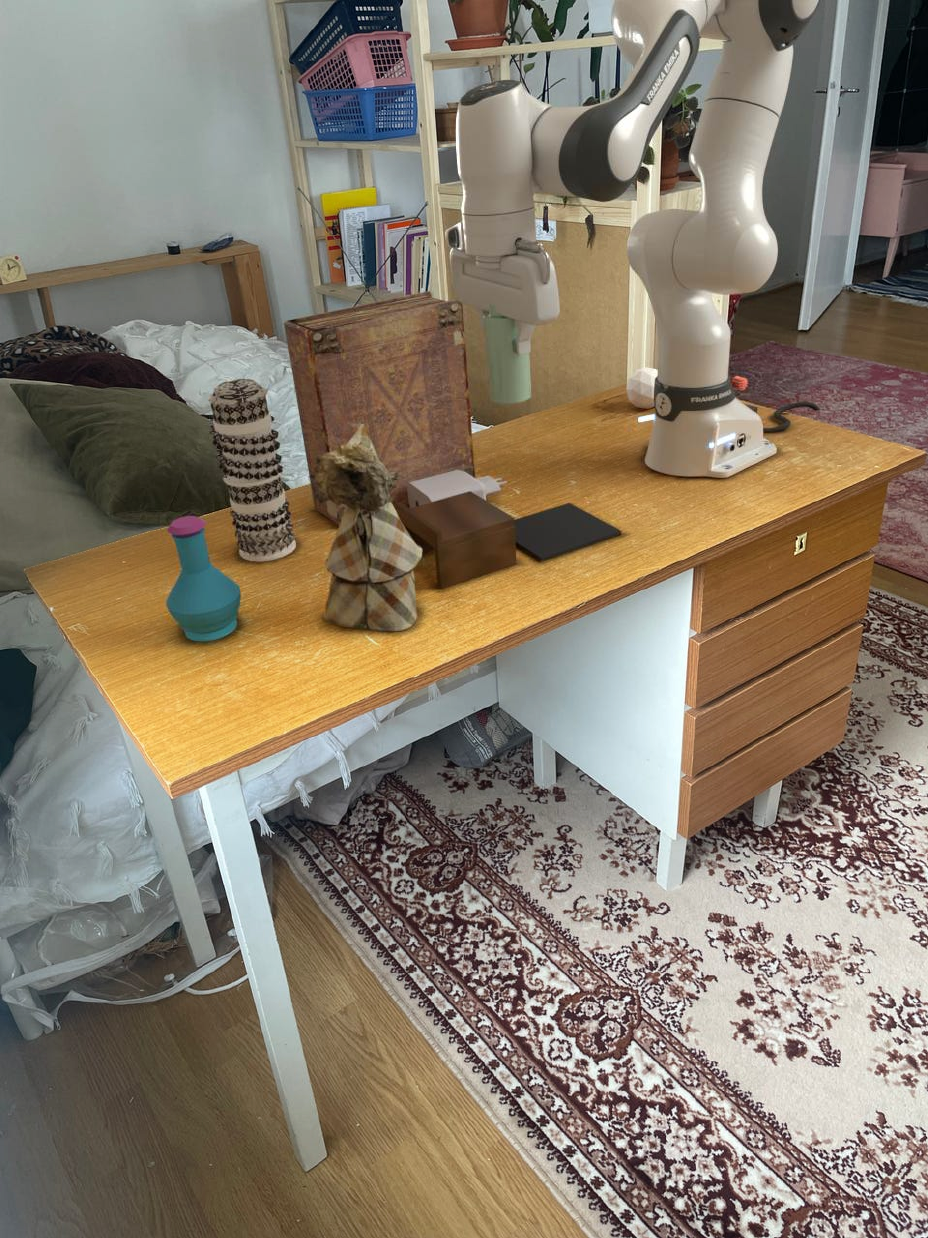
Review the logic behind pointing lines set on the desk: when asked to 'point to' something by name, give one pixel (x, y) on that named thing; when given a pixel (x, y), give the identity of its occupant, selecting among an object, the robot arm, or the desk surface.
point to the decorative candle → (251, 470)
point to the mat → (560, 531)
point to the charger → (450, 487)
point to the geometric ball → (642, 387)
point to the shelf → (462, 536)
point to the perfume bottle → (200, 586)
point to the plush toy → (366, 541)
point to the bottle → (505, 361)
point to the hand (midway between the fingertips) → (507, 347)
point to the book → (385, 387)
